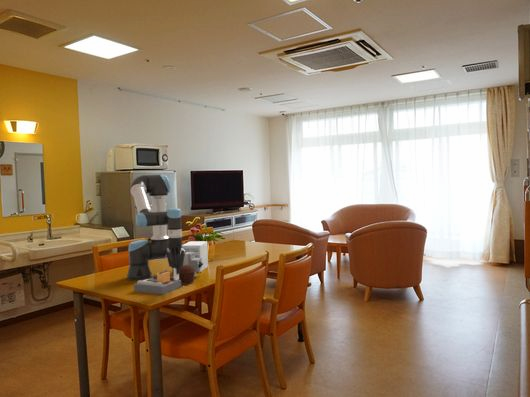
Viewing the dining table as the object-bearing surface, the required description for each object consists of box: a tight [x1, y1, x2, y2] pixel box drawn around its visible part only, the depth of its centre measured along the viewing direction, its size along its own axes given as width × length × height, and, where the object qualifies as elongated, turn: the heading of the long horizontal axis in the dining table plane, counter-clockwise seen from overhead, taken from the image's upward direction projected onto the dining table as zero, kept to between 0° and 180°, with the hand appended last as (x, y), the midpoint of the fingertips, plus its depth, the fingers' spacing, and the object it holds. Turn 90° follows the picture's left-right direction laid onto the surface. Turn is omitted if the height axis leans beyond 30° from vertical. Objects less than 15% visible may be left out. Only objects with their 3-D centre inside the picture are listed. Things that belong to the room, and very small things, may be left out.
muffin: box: [179, 265, 196, 285], centre depth 240 cm, size 12×11×10 cm
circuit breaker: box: [180, 252, 203, 277], centre depth 254 cm, size 8×14×15 cm, turn 78°
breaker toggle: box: [156, 269, 171, 283], centre depth 224 cm, size 4×6×6 cm, turn 155°
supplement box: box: [182, 240, 209, 273], centre depth 274 cm, size 17×13×18 cm
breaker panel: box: [133, 274, 182, 295], centre depth 226 cm, size 20×16×6 cm
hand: (176, 279), depth 220 cm, fingers closed
